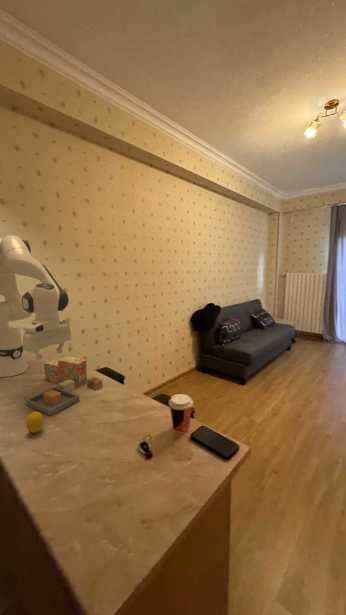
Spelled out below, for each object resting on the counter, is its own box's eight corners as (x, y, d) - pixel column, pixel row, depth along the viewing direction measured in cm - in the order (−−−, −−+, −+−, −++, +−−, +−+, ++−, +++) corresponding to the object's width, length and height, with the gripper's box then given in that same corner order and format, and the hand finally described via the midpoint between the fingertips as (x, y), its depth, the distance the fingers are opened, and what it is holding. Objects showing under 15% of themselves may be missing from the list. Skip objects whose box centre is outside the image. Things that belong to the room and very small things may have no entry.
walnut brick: (87, 387, 130) (87, 379, 129) (94, 384, 133) (93, 376, 132) (95, 390, 127) (95, 382, 126) (102, 387, 130) (102, 379, 129)
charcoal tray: (26, 405, 112) (26, 400, 112) (55, 391, 124) (55, 386, 124) (51, 416, 105) (50, 410, 104) (79, 401, 117) (79, 395, 116)
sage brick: (58, 391, 125) (58, 383, 124) (69, 386, 130) (69, 379, 129) (63, 394, 123) (63, 385, 122) (75, 389, 128) (74, 381, 127)
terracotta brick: (44, 401, 114) (43, 393, 114) (52, 397, 118) (51, 389, 117) (53, 405, 111) (52, 396, 111) (61, 401, 115) (60, 392, 114)
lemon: (48, 429, 97) (46, 409, 95) (35, 439, 92) (33, 417, 90) (36, 426, 98) (34, 406, 97) (23, 435, 93) (21, 414, 92)
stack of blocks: (44, 380, 136) (43, 357, 134) (54, 375, 142) (52, 353, 140) (79, 387, 129) (78, 363, 127) (87, 382, 135) (86, 359, 133)
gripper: (64, 318, 120) (65, 347, 122) (18, 327, 102) (21, 361, 105) (73, 320, 117) (75, 350, 119) (28, 330, 99) (31, 365, 102)
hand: (49, 355), depth 112 cm, fingers open, 8 cm apart
